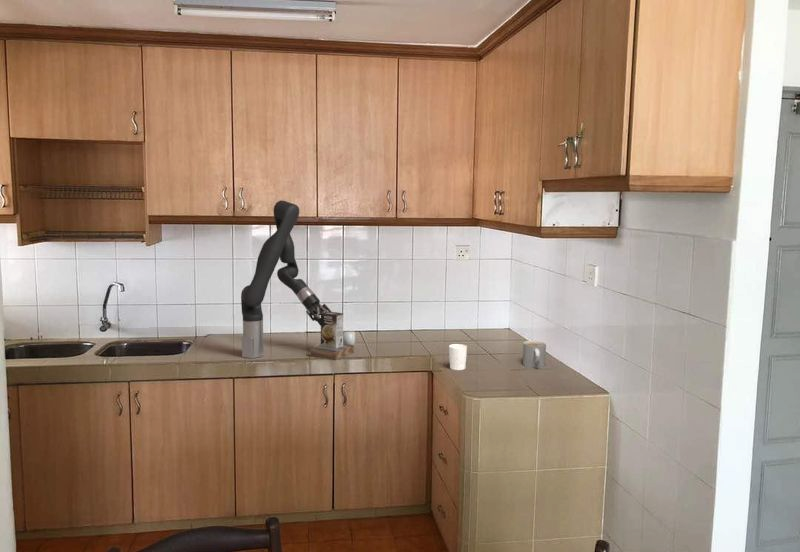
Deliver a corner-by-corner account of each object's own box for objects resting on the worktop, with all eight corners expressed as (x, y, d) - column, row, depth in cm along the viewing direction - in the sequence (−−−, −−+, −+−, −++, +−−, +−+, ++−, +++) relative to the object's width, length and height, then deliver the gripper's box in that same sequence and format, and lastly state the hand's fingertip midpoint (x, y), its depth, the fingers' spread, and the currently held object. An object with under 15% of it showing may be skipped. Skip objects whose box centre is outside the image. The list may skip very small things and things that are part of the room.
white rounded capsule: (351, 350, 317) (351, 334, 316) (340, 348, 319) (340, 332, 318) (357, 347, 322) (357, 331, 321) (347, 346, 325) (347, 330, 324)
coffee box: (320, 346, 306) (319, 312, 304) (327, 343, 312) (327, 310, 310) (336, 348, 302) (336, 314, 300) (343, 345, 308) (343, 312, 306)
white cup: (445, 366, 288) (445, 344, 286) (461, 365, 291) (461, 343, 289) (454, 371, 280) (454, 348, 279) (469, 369, 284) (470, 347, 282)
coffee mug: (523, 361, 298) (523, 340, 297) (545, 362, 296) (545, 341, 294) (522, 369, 285) (522, 347, 284) (545, 370, 283) (546, 348, 282)
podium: (335, 360, 297) (335, 351, 297) (310, 356, 304) (310, 348, 303) (353, 352, 311) (353, 344, 311) (329, 349, 318) (329, 341, 317)
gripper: (304, 295, 303) (324, 321, 300) (320, 291, 316) (341, 316, 312) (294, 305, 306) (315, 331, 303) (312, 301, 319) (332, 326, 315)
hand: (328, 323), depth 308 cm, fingers open, 8 cm apart
